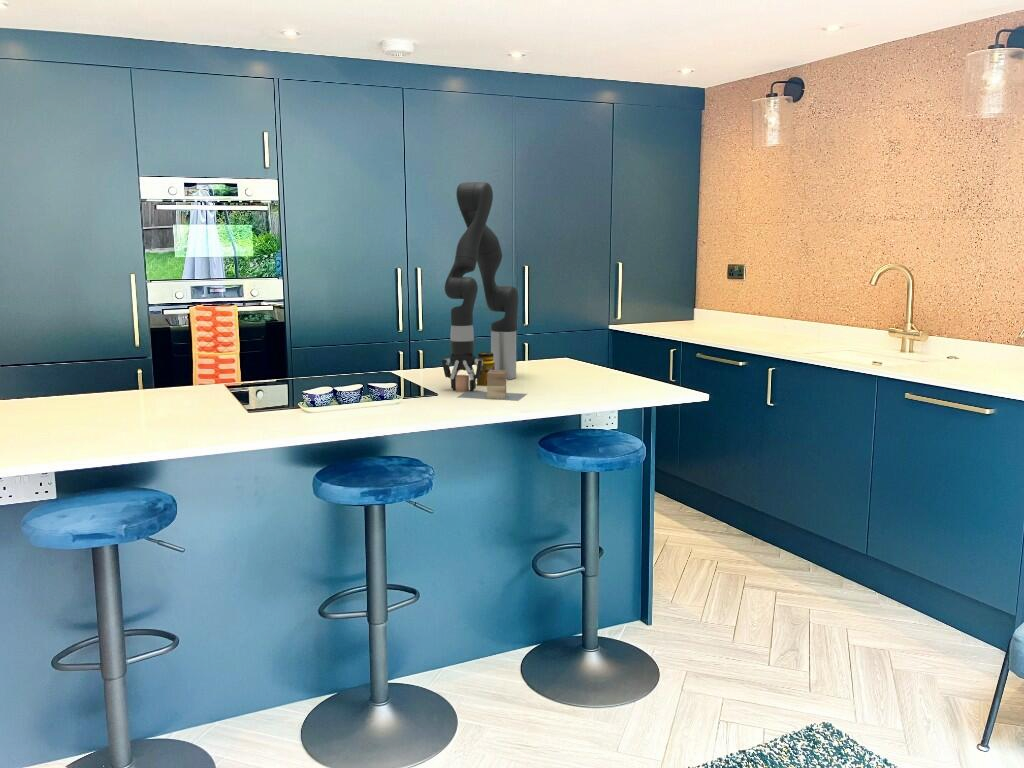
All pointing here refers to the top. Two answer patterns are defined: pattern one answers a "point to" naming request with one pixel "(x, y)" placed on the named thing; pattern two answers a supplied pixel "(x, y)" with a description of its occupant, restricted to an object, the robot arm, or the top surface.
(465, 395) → the board
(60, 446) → the top surface
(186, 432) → the top surface
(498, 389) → the block base
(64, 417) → the top surface
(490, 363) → the condiment
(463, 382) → the pink cylinder
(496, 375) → the block top
